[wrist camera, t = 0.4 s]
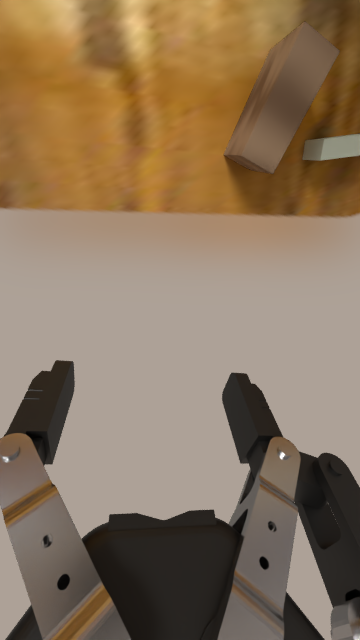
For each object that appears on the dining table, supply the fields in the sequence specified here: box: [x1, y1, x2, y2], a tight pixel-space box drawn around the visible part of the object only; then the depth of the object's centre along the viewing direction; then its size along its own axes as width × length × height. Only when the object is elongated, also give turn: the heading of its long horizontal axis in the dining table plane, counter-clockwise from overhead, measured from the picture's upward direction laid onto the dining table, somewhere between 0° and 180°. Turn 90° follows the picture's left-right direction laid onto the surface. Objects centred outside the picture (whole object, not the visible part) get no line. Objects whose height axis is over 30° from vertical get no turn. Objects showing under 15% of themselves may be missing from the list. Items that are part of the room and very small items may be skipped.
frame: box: [224, 21, 340, 174], centre depth 26 cm, size 10×4×7 cm, turn 156°
